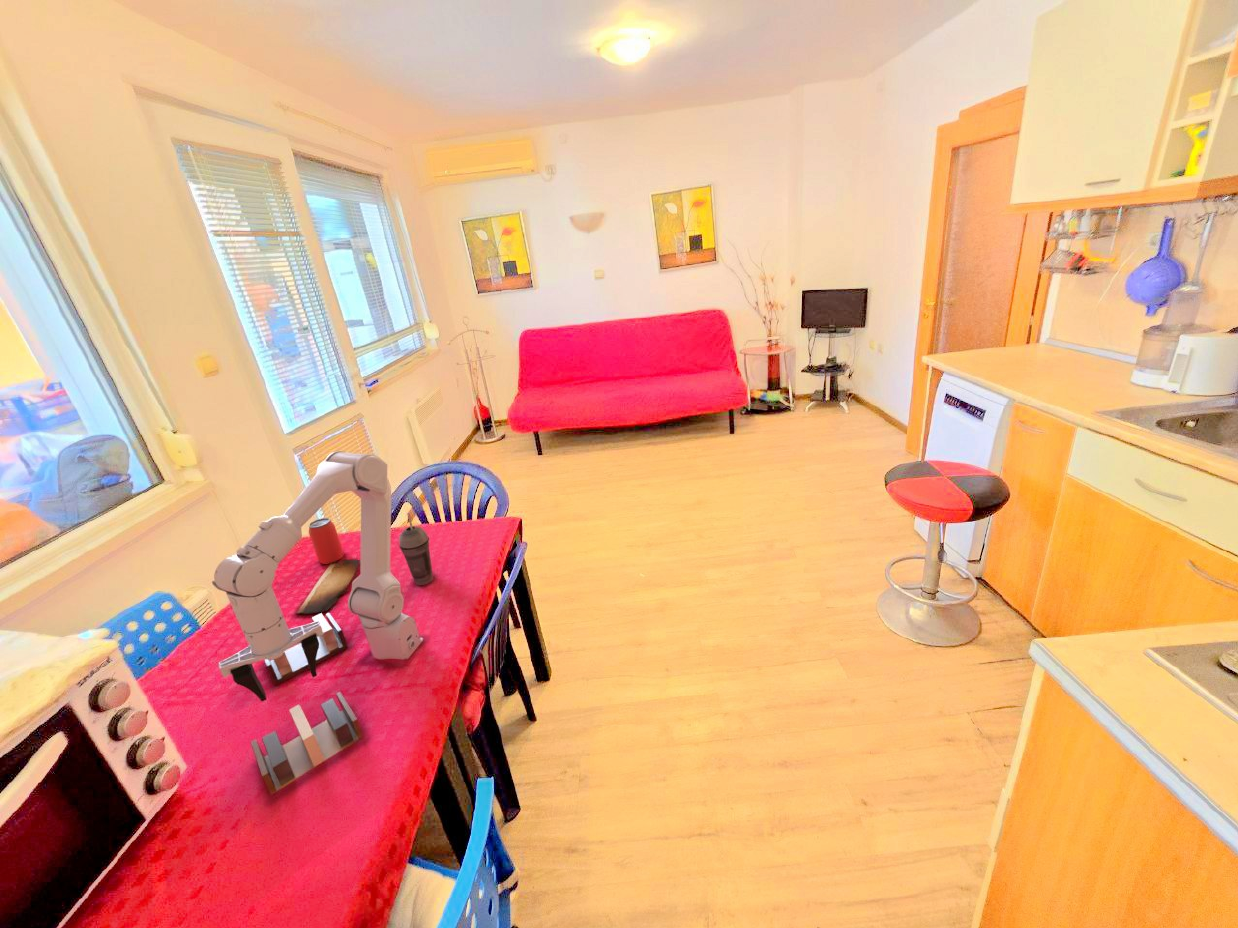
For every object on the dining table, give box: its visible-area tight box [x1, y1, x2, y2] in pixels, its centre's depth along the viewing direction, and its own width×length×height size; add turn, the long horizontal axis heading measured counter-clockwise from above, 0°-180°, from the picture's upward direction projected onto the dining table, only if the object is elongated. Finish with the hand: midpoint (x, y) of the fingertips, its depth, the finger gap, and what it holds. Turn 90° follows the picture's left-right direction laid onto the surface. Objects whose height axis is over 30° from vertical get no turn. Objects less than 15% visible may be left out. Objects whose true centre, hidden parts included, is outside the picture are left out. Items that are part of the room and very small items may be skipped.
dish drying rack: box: [263, 612, 349, 686], centre depth 107 cm, size 14×9×6 cm, turn 134°
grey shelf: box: [250, 691, 364, 796], centre depth 85 cm, size 14×9×5 cm, turn 135°
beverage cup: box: [398, 512, 434, 586], centre depth 129 cm, size 7×7×20 cm
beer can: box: [308, 517, 344, 565], centre depth 145 cm, size 7×7×12 cm
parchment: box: [295, 558, 361, 615], centre depth 133 cm, size 25×10×1 cm, turn 8°
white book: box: [288, 703, 326, 768], centre depth 84 cm, size 2×9×6 cm, turn 45°
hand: (289, 685), depth 88 cm, fingers open, 7 cm apart
